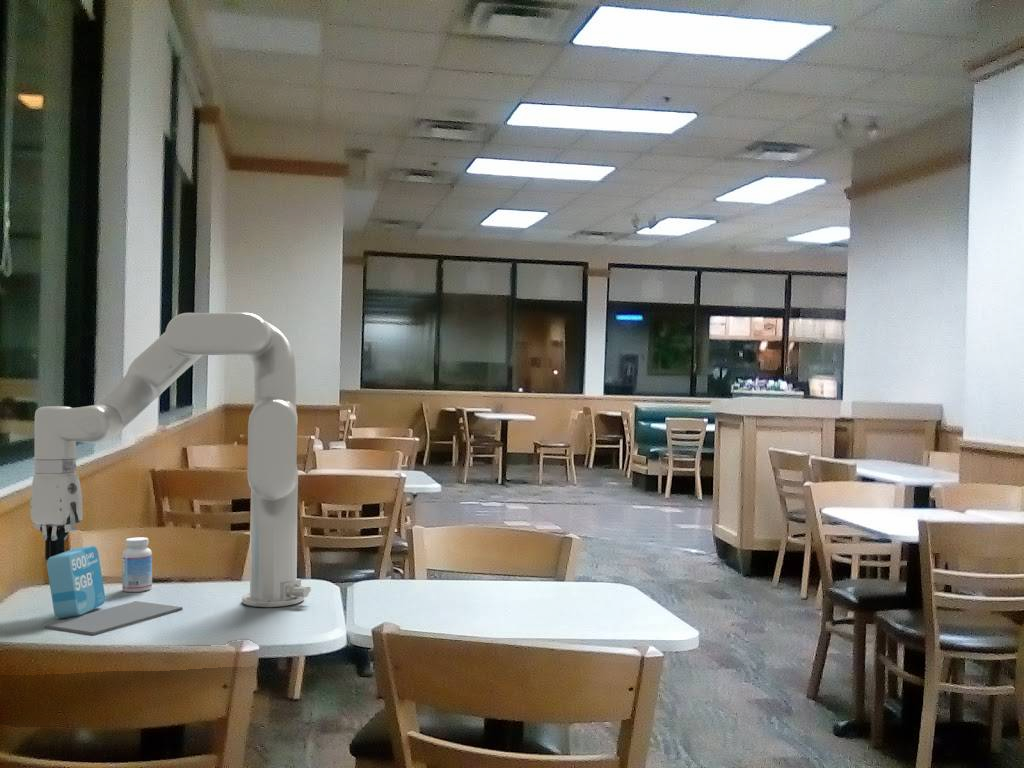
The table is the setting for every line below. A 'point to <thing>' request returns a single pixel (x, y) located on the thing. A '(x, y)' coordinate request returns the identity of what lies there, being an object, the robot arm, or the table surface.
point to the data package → (75, 582)
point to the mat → (113, 617)
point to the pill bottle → (137, 565)
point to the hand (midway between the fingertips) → (54, 559)
